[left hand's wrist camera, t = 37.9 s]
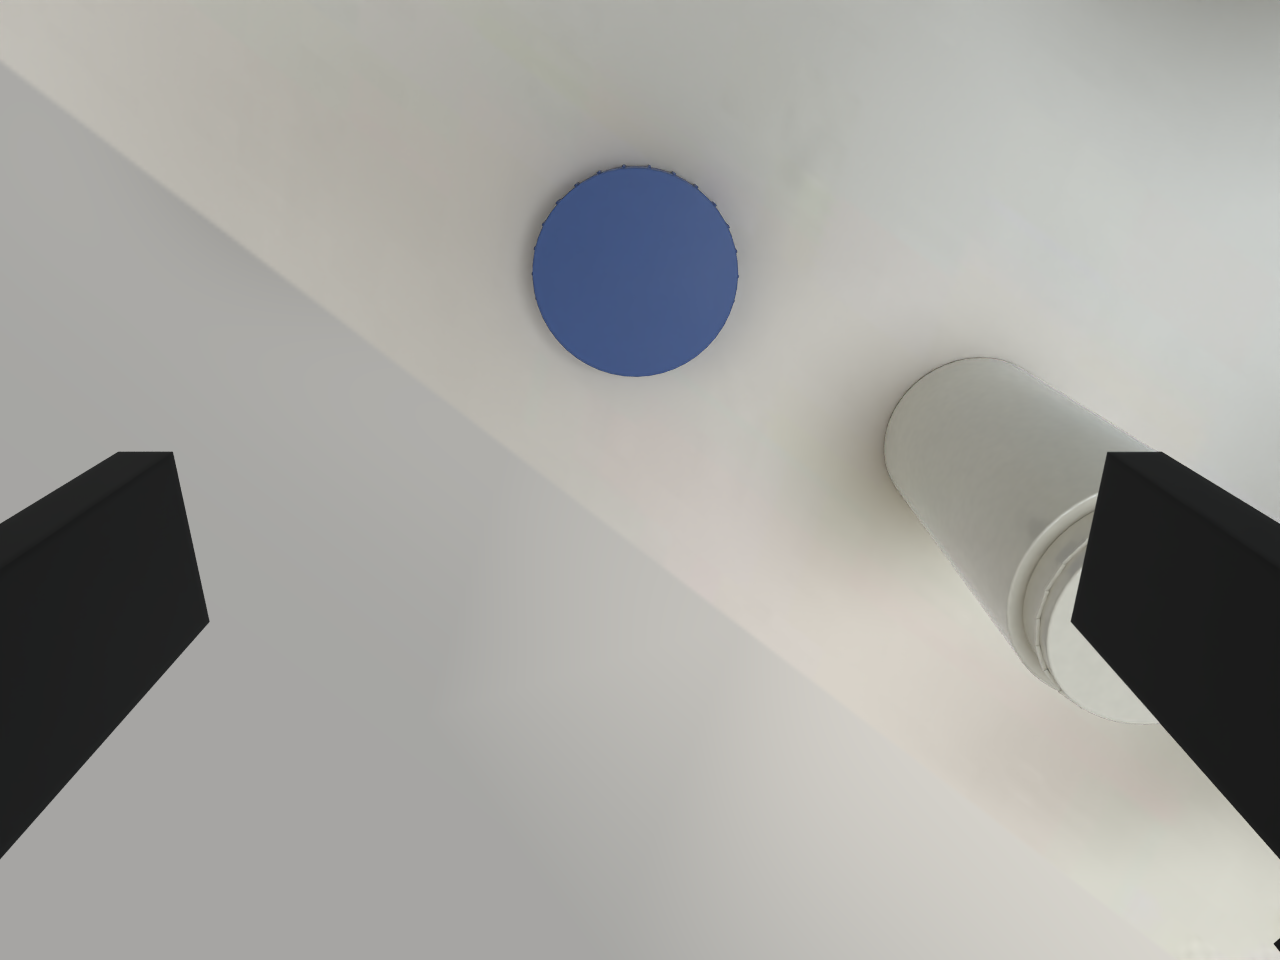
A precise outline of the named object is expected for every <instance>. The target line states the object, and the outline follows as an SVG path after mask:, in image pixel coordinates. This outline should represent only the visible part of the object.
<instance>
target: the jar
mask: <svg viewBox="0 0 1280 960" xmlns="http://www.w3.org/2000/svg"><path fill="white" fill-rule="evenodd" d="M1107 452H1158V451H1156V450H1155V449H1153V448H1152V447H1150V446H1148V445H1147V444H1145V443H1143V442H1142V441H1140V440H1138V439H1137V438H1135V437H1134V436H1132V435H1130V434H1129V433H1127V432H1125V431H1124V430H1122V429H1121V428H1119V427H1117V426H1116V425H1114V424H1112V423H1111V422H1109V421H1108V420H1106V419H1104V418H1103V417H1101V416H1099V415H1098V414H1096V413H1094V412H1093V411H1091V410H1090V409H1088V408H1086V407H1085V406H1083V405H1081V404H1080V403H1078V402H1077V401H1075V400H1073V399H1072V398H1070V397H1068V396H1067V395H1065V394H1064V393H1062V392H1060V391H1059V390H1057V389H1055V388H1054V387H1052V386H1050V385H1049V384H1047V383H1046V382H1044V381H1042V380H1041V379H1039V378H1037V377H1036V376H1034V375H1033V374H1031V373H1029V372H1028V371H1026V370H1024V369H1023V368H1021V367H1019V366H1017V365H1015V364H1013V363H1010V362H1007V361H1004V360H999V359H994V358H969V359H964V360H959V361H955V362H952V363H949V364H946V365H944V366H942V367H940V368H938V369H935V370H934V371H932V372H930V373H929V374H927V375H926V376H924V377H923V378H922V379H920V380H919V381H918V382H917V383H915V384H914V385H913V386H912V387H911V388H910V389H909V390H908V391H907V392H906V394H905V395H904V396H903V398H902V399H901V400H900V401H899V403H898V405H897V406H896V408H895V410H894V411H893V414H892V416H891V418H890V420H889V423H888V427H887V430H886V435H885V441H884V456H885V463H886V467H887V471H888V473H889V476H890V478H891V480H892V482H893V484H894V485H895V487H896V488H897V490H898V491H899V493H900V494H901V495H902V497H903V498H904V500H905V501H906V502H907V504H908V505H909V507H910V508H911V509H912V511H913V512H914V513H915V515H916V516H917V518H918V519H919V520H920V522H921V523H922V525H923V526H924V527H925V529H926V530H927V531H928V533H929V534H930V536H931V537H932V538H933V540H934V541H935V542H936V544H937V545H938V547H939V548H940V549H941V551H942V552H943V554H944V555H945V556H946V558H947V559H948V560H949V562H950V563H951V565H952V566H953V567H954V569H955V570H956V572H957V573H958V574H959V576H960V577H961V578H962V580H963V581H964V583H965V584H966V585H967V587H968V588H969V590H970V591H971V592H972V594H973V595H974V596H975V598H976V599H977V601H978V602H979V603H980V605H981V606H982V608H983V609H984V610H985V612H986V613H987V614H988V616H989V617H990V619H991V620H992V621H993V623H994V624H995V626H996V627H997V628H998V630H999V631H1000V632H1001V634H1002V635H1003V637H1004V638H1005V639H1006V641H1007V642H1008V644H1009V645H1010V646H1011V648H1012V649H1013V650H1014V652H1015V653H1016V655H1017V656H1018V657H1019V659H1020V660H1021V662H1022V663H1023V664H1024V665H1025V666H1026V667H1027V669H1028V670H1029V671H1030V672H1031V673H1032V674H1033V675H1035V676H1036V677H1037V678H1038V679H1039V680H1041V681H1042V682H1044V683H1045V684H1047V685H1049V686H1050V687H1052V688H1054V689H1056V690H1058V692H1059V693H1060V694H1062V695H1063V696H1065V697H1066V698H1068V699H1069V700H1070V701H1072V702H1073V703H1075V704H1076V705H1078V706H1079V707H1080V708H1081V709H1084V710H1086V711H1088V712H1090V713H1092V714H1095V715H1097V716H1099V717H1102V718H1105V719H1108V720H1112V721H1115V722H1121V723H1128V724H1158V723H1159V722H1158V720H1157V719H1156V718H1155V717H1154V716H1153V715H1152V714H1151V712H1150V711H1149V710H1148V709H1147V708H1146V707H1145V706H1144V705H1143V703H1142V702H1141V701H1140V700H1139V699H1138V698H1137V697H1136V695H1135V694H1134V693H1133V692H1132V691H1131V690H1130V689H1129V688H1128V686H1127V685H1126V684H1125V683H1124V682H1123V681H1122V680H1121V678H1120V677H1119V676H1118V675H1117V674H1116V673H1115V672H1114V671H1113V669H1112V668H1111V667H1110V666H1109V665H1108V664H1107V663H1106V661H1105V660H1104V659H1103V658H1102V657H1101V656H1100V655H1099V654H1098V652H1097V651H1096V650H1095V649H1094V648H1093V647H1092V646H1091V644H1090V643H1089V642H1088V641H1087V640H1086V639H1085V638H1084V636H1083V635H1082V634H1081V633H1080V632H1079V631H1078V630H1077V629H1076V627H1075V626H1074V625H1073V624H1072V623H1071V617H1072V613H1073V608H1074V603H1075V599H1076V594H1077V589H1078V585H1079V580H1080V575H1081V571H1082V566H1083V562H1084V557H1085V552H1086V548H1087V543H1088V538H1089V534H1090V529H1091V524H1092V520H1093V515H1094V511H1095V506H1096V501H1097V497H1098V492H1099V487H1100V483H1101V478H1102V473H1103V469H1104V464H1105V460H1106V455H1107Z"/></svg>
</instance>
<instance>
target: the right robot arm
mask: <svg viewBox="0 0 1280 960" xmlns="http://www.w3.org/2000/svg"><path fill="white" fill-rule="evenodd" d="M1274 945H1275V946H1276V947H1277V949H1278V950H1279V951H1280V939H1278V940H1277V941H1276V942H1275V943H1274Z"/></svg>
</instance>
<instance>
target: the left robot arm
mask: <svg viewBox="0 0 1280 960" xmlns="http://www.w3.org/2000/svg"><path fill="white" fill-rule="evenodd" d="M208 623H209V617H208V613H207V608H206V603H205V599H204V594H203V590H202V585H201V580H200V575H199V571H198V566H197V562H196V557H195V552H194V548H193V543H192V538H191V534H190V529H189V525H188V520H187V515H186V511H185V506H184V501H183V497H182V492H181V487H180V483H179V478H178V473H177V469H176V464H175V460H174V455H173V452H117V453H116V454H114V455H112V456H111V457H109V458H107V459H106V460H104V461H102V462H101V463H99V464H97V465H96V466H94V467H93V468H91V469H89V470H88V471H86V472H84V473H83V474H81V475H79V476H78V477H76V478H74V479H73V480H71V481H70V482H68V483H66V484H65V485H63V486H61V487H60V488H58V489H56V490H55V491H53V492H52V493H50V494H48V495H47V496H45V497H43V498H42V499H40V500H38V501H37V502H35V503H34V504H32V505H30V506H29V507H27V508H25V509H24V510H22V511H20V512H19V513H17V514H15V515H14V516H12V517H11V518H9V519H7V520H6V521H4V522H2V523H1V524H0V859H1V858H2V856H3V855H4V854H5V853H6V852H7V851H8V850H9V849H10V847H11V846H12V845H13V844H14V843H15V842H16V840H17V839H18V838H19V837H20V836H21V835H22V834H23V833H24V832H25V830H26V829H27V828H28V827H29V826H30V825H31V824H32V822H33V821H34V820H35V819H36V818H37V817H38V816H39V815H40V813H41V812H42V811H43V810H44V809H45V808H46V807H47V805H48V804H49V803H50V802H51V801H52V800H53V799H54V797H55V796H56V795H57V794H58V793H59V792H60V791H61V790H62V788H63V787H64V786H65V785H66V784H67V783H68V782H69V780H70V779H71V778H72V777H73V776H74V775H75V774H76V773H77V771H78V770H79V769H80V768H81V767H82V766H83V765H84V763H85V762H86V761H87V760H88V759H89V758H90V757H91V756H92V754H93V753H94V752H95V751H96V750H97V749H98V748H99V746H100V745H101V744H102V743H103V742H104V741H105V740H106V739H107V737H108V736H109V735H110V734H111V733H112V732H113V731H114V729H115V728H116V727H117V726H118V725H119V724H120V723H121V722H122V720H123V719H124V718H125V717H126V716H127V715H128V714H129V712H130V711H131V710H132V709H133V708H134V707H135V706H136V705H137V703H138V702H139V701H140V700H141V699H142V698H143V697H144V695H145V694H146V693H147V692H148V691H149V690H150V689H151V687H152V686H153V685H154V684H155V683H156V682H157V681H158V680H159V678H160V677H161V676H162V675H163V674H164V673H165V672H166V671H167V669H168V668H169V667H170V666H171V665H172V664H173V663H174V661H175V660H176V659H177V658H178V657H179V656H180V655H181V654H182V652H183V651H184V650H185V649H186V648H187V647H188V646H189V644H190V643H191V642H192V641H193V640H194V639H195V638H196V636H197V635H198V634H199V633H200V632H201V631H202V630H203V629H204V627H205V626H206V625H207V624H208ZM1071 623H1072V624H1073V625H1074V626H1075V627H1076V629H1077V630H1078V631H1079V632H1080V633H1081V634H1082V635H1083V636H1084V638H1085V639H1086V640H1087V641H1088V642H1089V643H1090V644H1091V646H1092V647H1093V648H1094V649H1095V650H1096V651H1097V652H1098V654H1099V655H1100V656H1101V657H1102V658H1103V659H1104V660H1105V661H1106V663H1107V664H1108V665H1109V666H1110V667H1111V668H1112V669H1113V671H1114V672H1115V673H1116V674H1117V675H1118V676H1119V677H1120V678H1121V680H1122V681H1123V682H1124V683H1125V684H1126V685H1127V686H1128V688H1129V689H1130V690H1131V691H1132V692H1133V693H1134V694H1135V695H1136V697H1137V698H1138V699H1139V700H1140V701H1141V702H1142V703H1143V705H1144V706H1145V707H1146V708H1147V709H1148V710H1149V711H1150V712H1151V714H1152V715H1153V716H1154V717H1155V718H1156V719H1157V720H1158V722H1159V723H1160V724H1161V725H1162V726H1163V727H1164V728H1165V729H1166V731H1167V732H1168V733H1169V734H1170V735H1171V736H1172V737H1173V739H1174V740H1175V741H1176V742H1177V743H1178V744H1179V745H1180V746H1181V748H1182V749H1183V750H1184V751H1185V752H1186V753H1187V754H1188V756H1189V757H1190V758H1191V759H1192V760H1193V761H1194V762H1195V763H1196V765H1197V766H1198V767H1199V768H1200V769H1201V770H1202V771H1203V773H1204V774H1205V775H1206V776H1207V777H1208V778H1209V779H1210V780H1211V782H1212V783H1213V784H1214V785H1215V786H1216V787H1217V788H1218V790H1219V791H1220V792H1221V793H1222V794H1223V795H1224V796H1225V798H1226V799H1227V800H1228V801H1229V802H1230V803H1231V804H1232V805H1233V807H1234V808H1235V809H1236V810H1237V811H1238V812H1239V813H1240V815H1241V816H1242V817H1243V818H1244V819H1245V820H1246V821H1247V822H1248V824H1249V825H1250V826H1251V827H1252V828H1253V829H1254V830H1255V832H1256V833H1257V834H1258V835H1259V836H1260V837H1261V838H1262V839H1263V841H1264V842H1265V843H1266V844H1267V845H1268V846H1269V847H1270V849H1271V850H1272V851H1273V852H1274V853H1275V854H1276V855H1277V856H1278V858H1279V859H1280V524H1279V523H1278V522H1276V521H1274V520H1273V519H1271V518H1269V517H1268V516H1266V515H1265V514H1263V513H1261V512H1260V511H1258V510H1256V509H1255V508H1253V507H1251V506H1250V505H1248V504H1247V503H1245V502H1243V501H1242V500H1240V499H1238V498H1237V497H1235V496H1233V495H1232V494H1230V493H1228V492H1227V491H1225V490H1224V489H1222V488H1220V487H1219V486H1217V485H1215V484H1214V483H1212V482H1210V481H1209V480H1207V479H1206V478H1204V477H1202V476H1201V475H1199V474H1197V473H1196V472H1194V471H1192V470H1191V469H1189V468H1187V467H1186V466H1184V465H1183V464H1181V463H1179V462H1178V461H1176V460H1174V459H1173V458H1171V457H1169V456H1168V455H1166V454H1165V453H1163V452H1107V455H1106V460H1105V464H1104V469H1103V473H1102V478H1101V483H1100V487H1099V492H1098V497H1097V501H1096V506H1095V511H1094V515H1093V520H1092V524H1091V529H1090V534H1089V538H1088V543H1087V548H1086V552H1085V557H1084V562H1083V566H1082V571H1081V575H1080V580H1079V585H1078V589H1077V594H1076V599H1075V603H1074V608H1073V613H1072V617H1071Z"/></svg>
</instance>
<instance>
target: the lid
mask: <svg viewBox="0 0 1280 960" xmlns="http://www.w3.org/2000/svg"><path fill="white" fill-rule="evenodd" d="M574 186H575V188H574V189H572V190H571V191H570V192H569V193H568V194H567V195H566V196H565V197H564V198H563V199H562V200H561V199H559V200H558V201H557V202H556V204H557V205H556V206H555V208H554V209H553V210H552V212H551V213H550V215H549V216H548V218H547V220H546V221H545V222H543V224H542V226H543V227H542V230H541V232H540V235H539V237H538V240H537V244H536V246H535V247H534V250H535V251H534V259H533V272H532V275H533V285H534V292H535V296H536V297H535V298H536V300H537V304H538V307H539V309H540V312H541V314H542V317H543V319H544V321H545V323H546V324H547V326H548V328H549V330H550V331H551V332H552V334H553V335H554V336H555V338H556V339H557V340H558V341H559V342H560V343H561V344H562V346H563V347H564V348H565V349H566V350H568V351H569V352H570V353H571V354H572V355H574V356H575V357H576V358H578V359H579V360H581V361H582V362H584V363H586V364H587V365H589V366H592V367H594V368H596V369H598V370H601V371H604V372H607V373H611V374H615V375H621V376H633V377H639V376H651V375H655V374H660V373H664V372H667V371H670V370H673V369H675V368H677V367H679V366H681V365H683V364H685V363H687V362H689V361H690V360H692V359H693V358H695V357H696V356H697V355H699V354H700V353H701V352H702V351H703V350H704V349H705V348H707V347H708V345H709V344H710V343H711V342H712V341H713V340H714V339H715V338H716V336H717V335H718V333H719V332H720V330H721V329H722V327H723V326H724V324H725V322H726V320H727V318H728V316H729V314H730V311H731V308H732V306H733V303H734V301H735V300H734V299H735V294H736V290H737V281H738V278H739V275H738V263H737V256H736V253H737V250H736V249H735V246H734V243H733V239H732V236H731V233H730V231H729V228H730V227H729V225H728V224H727V223H726V222H725V221H724V219H723V218H722V216H721V214H720V213H719V211H718V210H717V209H716V206H717V205H716V204H715V203H714V202H713V201H712V202H711V201H710V200H709V199H708V198H707V197H706V196H705V195H704V194H703V193H701V192H700V191H699V190H698V189H697V188H698V186H697V185H695V184H694V185H692V184H690V183H689V182H687V181H686V180H684V179H682V178H680V177H678V176H676V173H675V172H673V171H672V173H670V172H667V171H664V170H661V169H656V168H651V166H650V165H648V167H643V166H628V167H626V166H625V165H623V166H622V167H619V168H615V169H610V170H606V171H604V172H601V170H600V171H598V172H597V174H596V175H594V176H592V177H590V178H588V179H587V180H585V181H583V182H582V183H579V182H578V183H577V184H575V185H574Z"/></svg>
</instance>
